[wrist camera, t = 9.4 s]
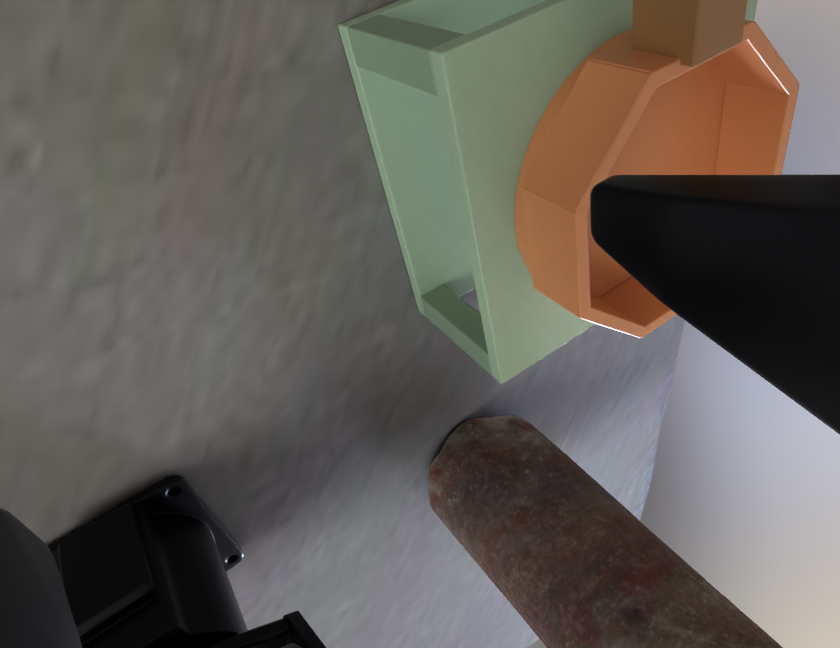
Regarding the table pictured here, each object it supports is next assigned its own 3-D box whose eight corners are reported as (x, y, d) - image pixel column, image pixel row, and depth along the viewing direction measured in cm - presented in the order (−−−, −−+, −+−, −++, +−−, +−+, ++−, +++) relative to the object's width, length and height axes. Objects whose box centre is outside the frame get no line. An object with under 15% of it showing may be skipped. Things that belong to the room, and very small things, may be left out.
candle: (545, 401, 35) (922, 721, 21) (501, 496, 38) (810, 836, 24) (445, 410, 31) (842, 826, 16) (404, 517, 33) (714, 954, 19)
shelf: (616, 196, 30) (722, 241, 25) (418, 311, 26) (501, 385, 22) (618, -87, 22) (770, -90, 18) (336, 24, 19) (441, 53, 14)
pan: (701, 227, 24) (775, 258, 22) (527, 336, 21) (592, 385, 19) (765, -344, 14) (918, -397, 12) (450, -264, 11) (567, -313, 9)
